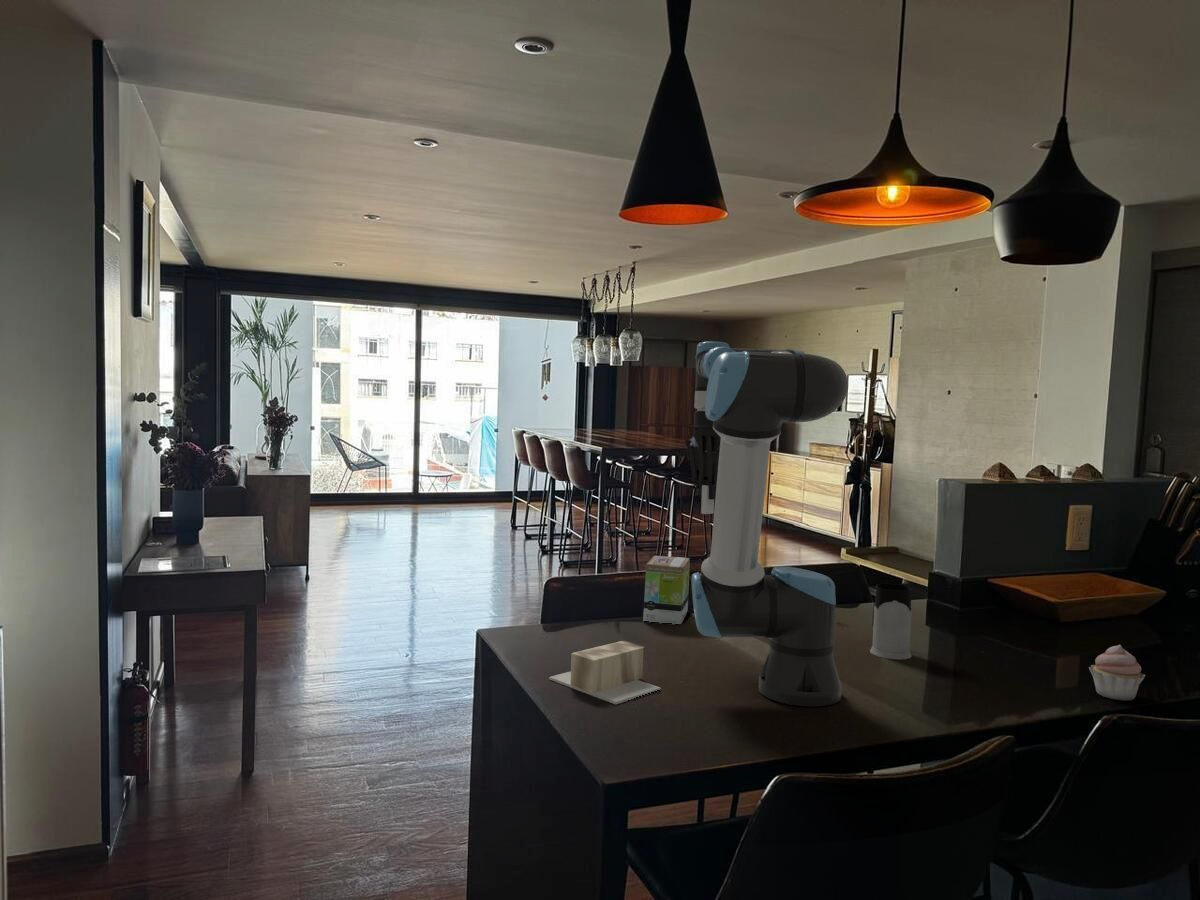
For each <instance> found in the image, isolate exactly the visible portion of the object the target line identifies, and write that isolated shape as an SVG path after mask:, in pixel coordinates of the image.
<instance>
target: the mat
mask: <svg viewBox="0 0 1200 900" xmlns="http://www.w3.org/2000/svg"><path fill="white" fill-rule="evenodd" d="M548 679H549V681H553V682H554V683H558V684H560V685H563V686H565V687H568V688H571V689H573V690H576V691H579V692H581V693H584V694H587V695H590V696H591V697H594V698H596V699H600V700H602V701H605V702H609V703H611V704H613V705H619V704H622V703H624V702H625V703H626V702H629V701H631V700H634V698H635V699H637V698H636V697H638V698H640V697H639V696H641V697H643V696H642V695H644V696H646V695H645V694H647V695H649V694H648V693H650V694H652V693H651V692H654V691H657V690H660V689H661V687H660V686H656V685H653V684H650V683H649V682H648V683H647V682H645V681H642V680H640V679H638V680H635V681H631V682H628V683H625V684H621V685H618V686H615V687H611V688H608V689H604V690H601V691H598V692H594V693H591V692H589V691H586V690H583V689H581V688H578V687H575V686H573V685H571V670H570V671H567V672H563V673H560V674H559V673H558V674H555V675H552V676H549V678H548ZM660 691H661V690H660ZM657 692H658V691H657ZM654 693H655V692H654ZM628 700H629V701H628Z"/></svg>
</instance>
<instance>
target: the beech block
mask: <svg viewBox="0 0 1200 900" xmlns="http://www.w3.org/2000/svg"><path fill="white" fill-rule="evenodd" d="M570 653H571V652H570ZM570 655H571V658H570V671H571V685H573V686H575V687H578V688H581V689H583V690H586V691H589V692H591V693H594V692H598V691H601V690H604V689H608V688H611V687H615V686H618V685H621V684H625V683H628V682H631V681H635V680H641V679H645V676H646V673H645V672H646V646H643V645H641V644H636V643H633V642H629V641H626V640H621V641H617V642H612V643H608V644H603V645H599V646H595V647H591V648H586V649H582V650H579V651H575V652H572V653H571V654H570Z"/></svg>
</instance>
